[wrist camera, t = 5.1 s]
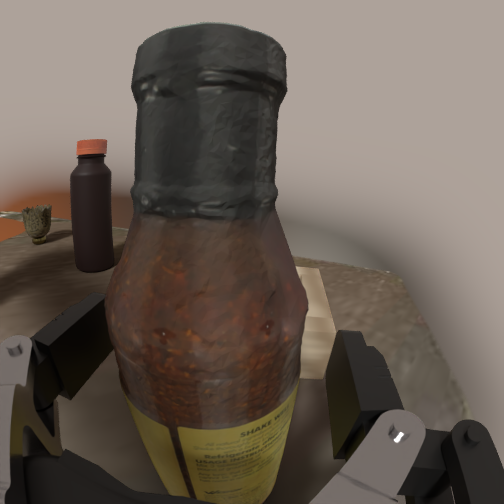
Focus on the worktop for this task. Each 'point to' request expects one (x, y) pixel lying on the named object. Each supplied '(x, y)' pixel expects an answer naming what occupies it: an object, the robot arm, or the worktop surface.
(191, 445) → the sauce bottle
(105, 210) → the vinegar
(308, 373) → the socket block
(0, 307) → the worktop surface
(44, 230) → the cup
